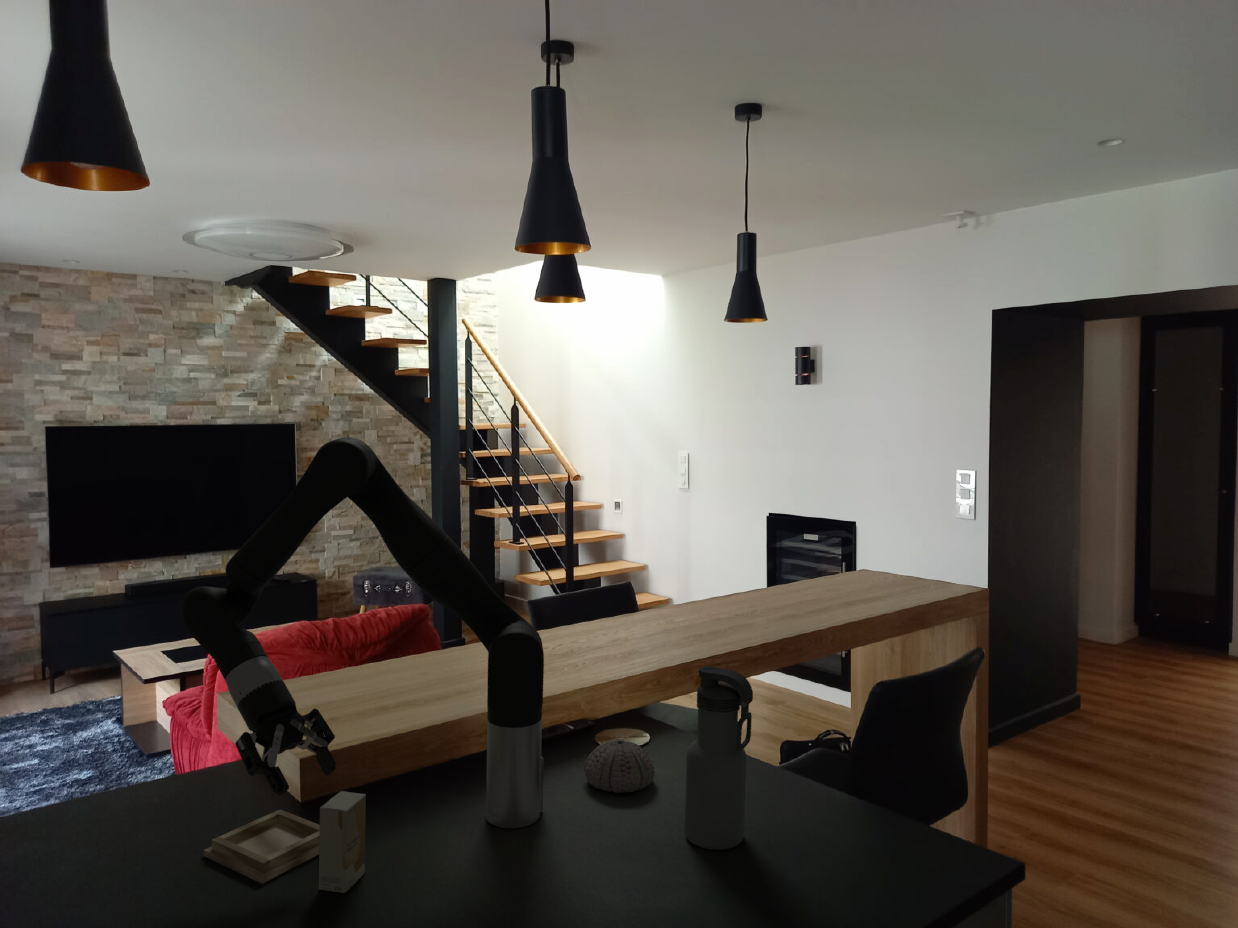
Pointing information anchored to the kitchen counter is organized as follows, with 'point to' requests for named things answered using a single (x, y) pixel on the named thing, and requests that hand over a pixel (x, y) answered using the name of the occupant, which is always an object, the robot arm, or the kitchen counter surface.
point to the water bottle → (718, 761)
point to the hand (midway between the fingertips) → (308, 781)
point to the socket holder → (267, 846)
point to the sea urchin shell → (619, 767)
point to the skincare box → (342, 841)
